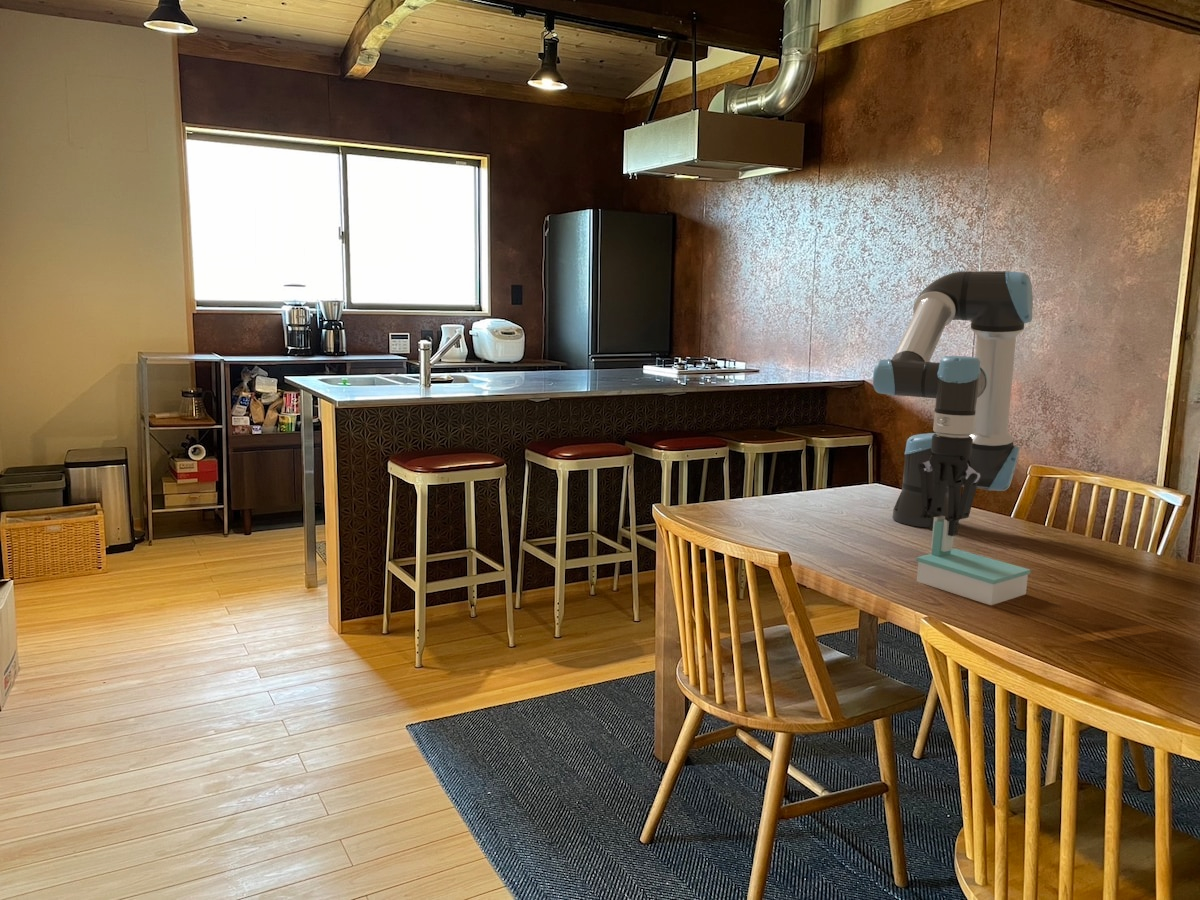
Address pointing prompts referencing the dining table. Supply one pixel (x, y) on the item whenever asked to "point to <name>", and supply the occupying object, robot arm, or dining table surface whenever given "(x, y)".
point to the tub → (971, 585)
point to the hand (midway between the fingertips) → (941, 548)
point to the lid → (969, 562)
